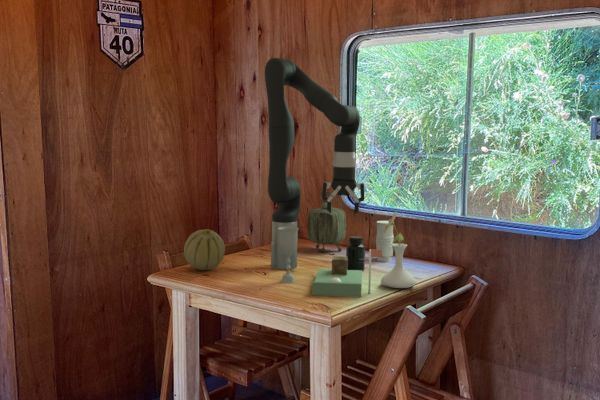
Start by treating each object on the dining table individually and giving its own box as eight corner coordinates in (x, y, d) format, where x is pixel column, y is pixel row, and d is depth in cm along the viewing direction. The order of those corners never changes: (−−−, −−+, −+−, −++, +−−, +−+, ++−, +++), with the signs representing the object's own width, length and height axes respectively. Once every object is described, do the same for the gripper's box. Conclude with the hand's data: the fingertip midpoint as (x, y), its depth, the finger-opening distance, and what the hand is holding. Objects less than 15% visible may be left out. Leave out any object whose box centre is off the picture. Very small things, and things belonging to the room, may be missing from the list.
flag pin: (368, 293, 190) (369, 249, 188) (368, 293, 190) (369, 249, 189) (380, 293, 189) (382, 249, 188) (380, 293, 190) (381, 249, 188)
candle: (394, 261, 234) (395, 223, 232) (376, 261, 234) (377, 223, 233) (392, 257, 241) (393, 220, 239) (374, 257, 241) (375, 220, 239)
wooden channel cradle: (331, 274, 203) (331, 260, 203) (332, 270, 210) (332, 256, 209) (346, 275, 203) (346, 260, 202) (347, 270, 209) (347, 256, 208)
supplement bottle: (363, 272, 217) (364, 239, 216) (344, 271, 219) (345, 238, 217) (365, 268, 224) (366, 235, 222) (347, 266, 225) (347, 235, 224)
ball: (326, 276, 192) (331, 283, 195) (326, 288, 190) (331, 295, 193) (339, 273, 191) (344, 280, 194) (339, 285, 188) (344, 292, 191)
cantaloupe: (202, 263, 229) (201, 224, 227) (233, 268, 222) (233, 227, 220) (175, 271, 217) (174, 229, 215) (207, 276, 209) (206, 233, 207)
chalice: (290, 285, 199) (291, 230, 197) (273, 282, 203) (273, 228, 200) (302, 280, 205) (303, 227, 203) (285, 277, 209) (286, 225, 207)
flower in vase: (392, 280, 207) (394, 207, 204) (422, 285, 199) (424, 210, 196) (371, 287, 197) (373, 211, 194) (402, 294, 189) (404, 214, 186)
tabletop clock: (345, 251, 253) (346, 191, 250) (335, 255, 246) (336, 193, 242) (316, 247, 261) (316, 189, 258) (304, 250, 253) (305, 191, 250)
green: (312, 295, 188) (312, 282, 187) (318, 275, 212) (318, 264, 211) (361, 296, 186) (361, 284, 185) (361, 277, 210) (362, 265, 210)
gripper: (322, 165, 201) (320, 214, 203) (365, 166, 199) (363, 215, 201) (323, 164, 208) (322, 210, 210) (365, 165, 207) (364, 212, 209)
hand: (342, 213), depth 206 cm, fingers open, 8 cm apart
